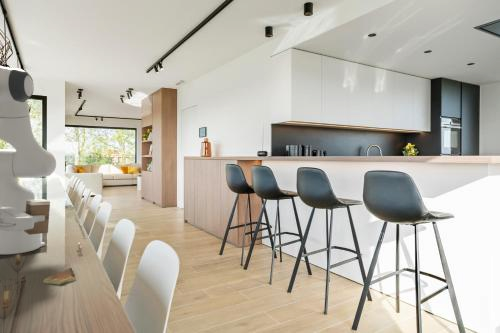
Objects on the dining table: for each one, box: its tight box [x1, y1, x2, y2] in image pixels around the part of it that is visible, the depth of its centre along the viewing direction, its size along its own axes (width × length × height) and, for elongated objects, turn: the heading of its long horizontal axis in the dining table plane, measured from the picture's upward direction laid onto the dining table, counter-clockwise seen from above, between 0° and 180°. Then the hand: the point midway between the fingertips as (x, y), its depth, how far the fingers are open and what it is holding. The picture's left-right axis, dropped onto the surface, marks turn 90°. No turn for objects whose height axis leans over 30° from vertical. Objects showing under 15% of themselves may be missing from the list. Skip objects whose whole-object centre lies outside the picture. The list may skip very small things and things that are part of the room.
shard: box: [42, 267, 76, 286], centre depth 98 cm, size 11×8×2 cm
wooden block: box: [24, 198, 51, 235], centre depth 102 cm, size 5×5×10 cm
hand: (40, 216), depth 103 cm, fingers closed on wooden block, 5 cm apart
